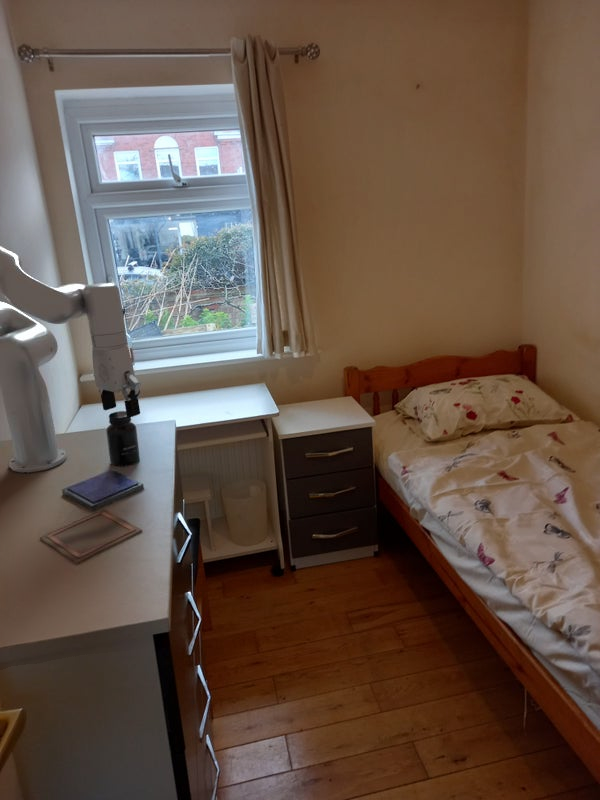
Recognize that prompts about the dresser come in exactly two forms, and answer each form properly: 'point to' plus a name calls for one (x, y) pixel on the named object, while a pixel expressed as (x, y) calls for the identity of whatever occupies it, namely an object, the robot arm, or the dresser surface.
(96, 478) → the ink pad
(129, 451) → the supplement bottle
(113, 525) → the marked board
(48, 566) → the dresser surface
